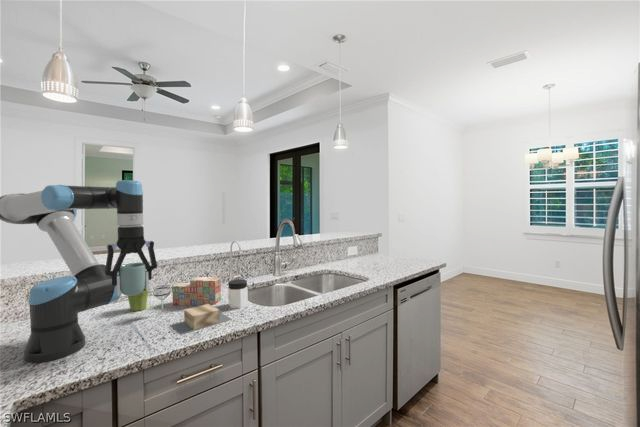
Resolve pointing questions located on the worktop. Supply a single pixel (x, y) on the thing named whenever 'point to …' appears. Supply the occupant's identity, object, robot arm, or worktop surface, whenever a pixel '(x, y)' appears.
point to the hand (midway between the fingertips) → (132, 291)
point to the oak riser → (201, 316)
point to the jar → (238, 293)
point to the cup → (132, 278)
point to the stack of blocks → (197, 292)
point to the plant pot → (138, 301)
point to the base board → (184, 328)
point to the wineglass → (161, 294)
